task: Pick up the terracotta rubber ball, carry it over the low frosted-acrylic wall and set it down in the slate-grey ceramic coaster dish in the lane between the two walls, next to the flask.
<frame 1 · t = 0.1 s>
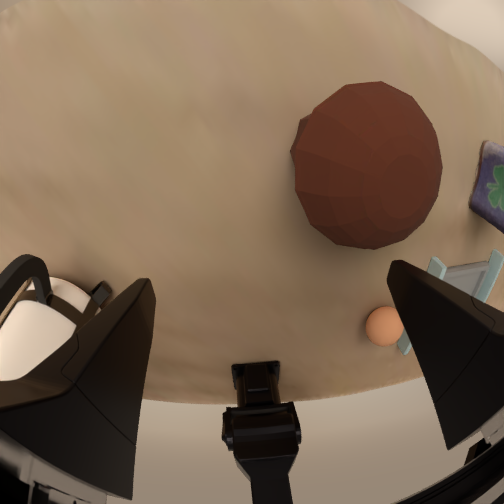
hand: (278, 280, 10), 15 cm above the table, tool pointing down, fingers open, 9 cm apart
acrylic walls: (450, 297, 33), on the table
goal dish: (450, 297, 33), on the table
coffee press: (69, 295, 27), on the table
flask: (479, 174, 23), on the table
muffin: (339, 149, 22), on the table
ball: (384, 326, 30), point 2 cm above the table
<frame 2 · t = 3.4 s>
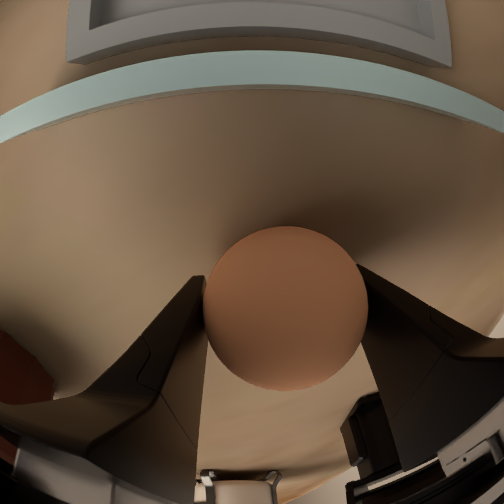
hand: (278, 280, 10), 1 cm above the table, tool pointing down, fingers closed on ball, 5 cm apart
coffee press: (223, 476, 30), on the table
muffin: (11, 359, 14), on the table
ball: (285, 309, 8), point 2 cm above the table, touching gripper
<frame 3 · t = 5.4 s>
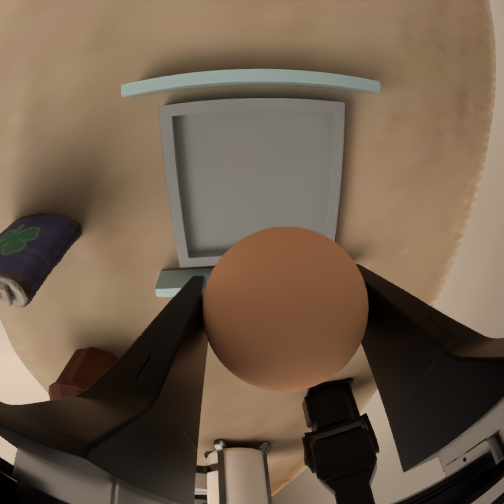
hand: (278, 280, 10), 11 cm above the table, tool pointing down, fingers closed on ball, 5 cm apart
acrylic walls: (254, 182, 19), on the table
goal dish: (254, 182, 19), on the table
coffee press: (229, 447, 45), on the table
flask: (44, 227, 19), on the table
ramekin: (191, 470, 57), on the table
muffin: (103, 367, 29), on the table
ball: (285, 309, 8), point 13 cm above the table, touching gripper
when the fingers open (2 cm above the table, at t = 7.4 s): ball stays where it is, resting on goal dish.
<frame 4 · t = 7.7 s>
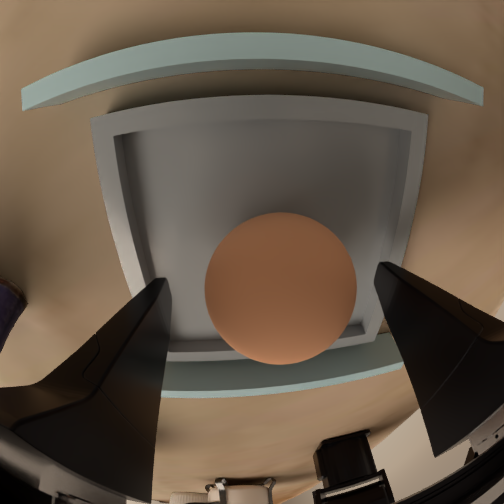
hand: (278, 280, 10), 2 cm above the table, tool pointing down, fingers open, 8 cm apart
acrylic walls: (269, 245, 12), on the table
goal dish: (269, 245, 12), on the table
coffee press: (231, 482, 38), on the table
ramekin: (192, 493, 50), on the table
ball: (280, 288, 9), point 3 cm above the table, touching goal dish
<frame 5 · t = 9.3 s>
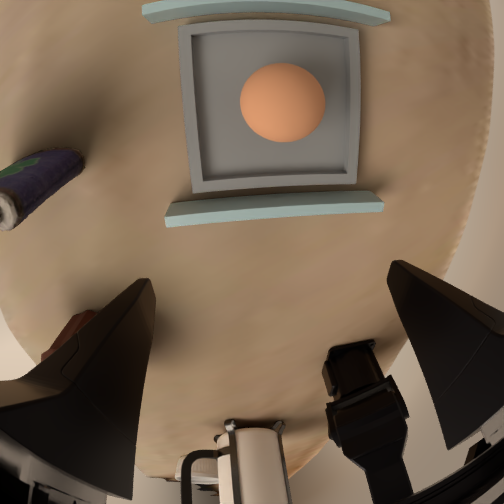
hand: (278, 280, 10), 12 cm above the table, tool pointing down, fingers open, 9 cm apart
acrylic walls: (273, 101, 17), on the table
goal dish: (273, 101, 17), on the table
coffee press: (240, 429, 45), on the table
flask: (44, 167, 17), on the table
ramekin: (199, 458, 57), on the table
muffin: (103, 336, 28), on the table
ball: (282, 102, 14), point 3 cm above the table, touching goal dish
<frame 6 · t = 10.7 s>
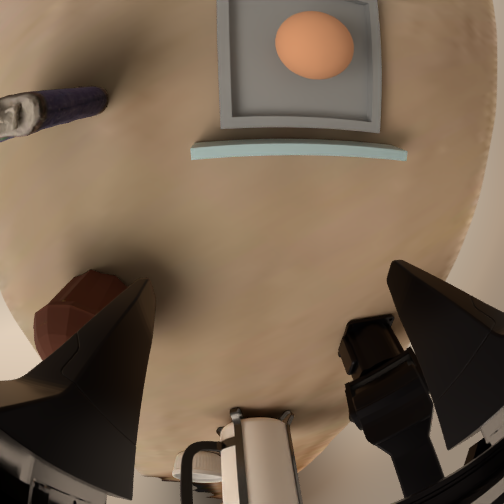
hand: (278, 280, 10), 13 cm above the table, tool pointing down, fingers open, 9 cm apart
acrylic walls: (301, 51, 16), on the table
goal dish: (301, 51, 16), on the table
coffee press: (245, 420, 42), on the table
flask: (63, 107, 16), on the table
ramekin: (198, 454, 54), on the table
muffin: (104, 302, 26), on the table
ball: (314, 44, 13), point 3 cm above the table, touching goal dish
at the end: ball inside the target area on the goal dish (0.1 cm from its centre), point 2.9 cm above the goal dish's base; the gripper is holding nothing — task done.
